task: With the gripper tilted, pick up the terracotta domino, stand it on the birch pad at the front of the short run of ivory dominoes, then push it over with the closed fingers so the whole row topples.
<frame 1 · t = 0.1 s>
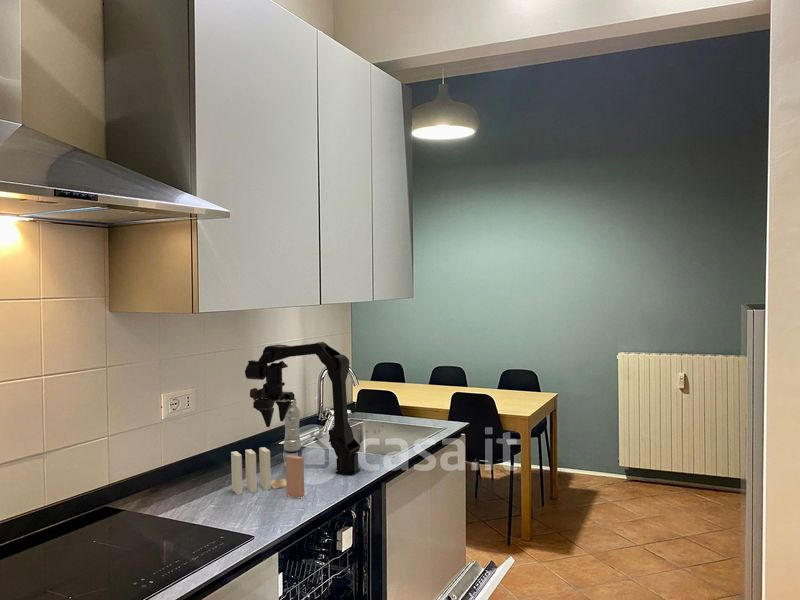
hand: (274, 424, 225), 15 cm above the table, tool pointing down, fingers open, 9 cm apart
ivory domino 4: (237, 491, 197), on the table
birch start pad: (278, 484, 204), on the table
plastic bottle: (292, 451, 244), on the table
ivory domino 2: (265, 486, 202), on the table
terracotta domino: (295, 496, 192), on the table
ivory domino 3: (251, 489, 199), on the table
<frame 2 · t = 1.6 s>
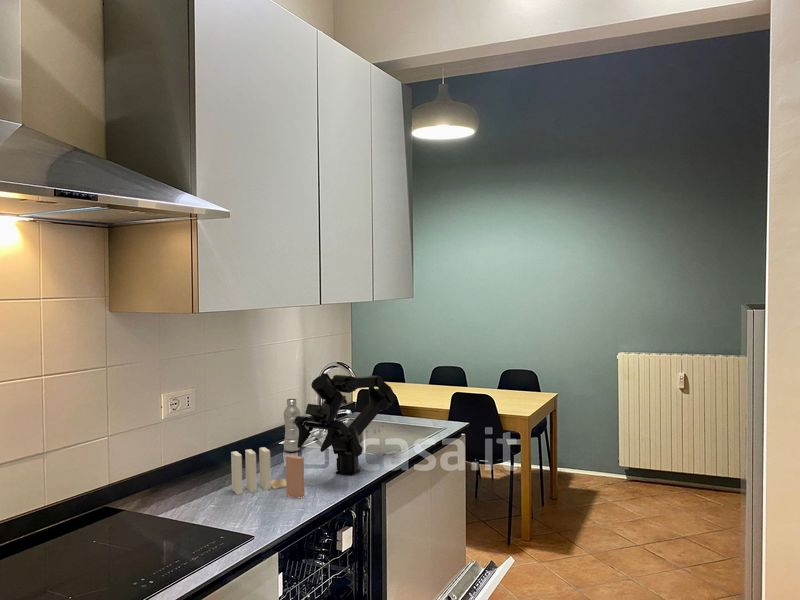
hand: (309, 449, 199), 12 cm above the table, tool tilted 45°, fingers open, 9 cm apart
nothing on the table moved.
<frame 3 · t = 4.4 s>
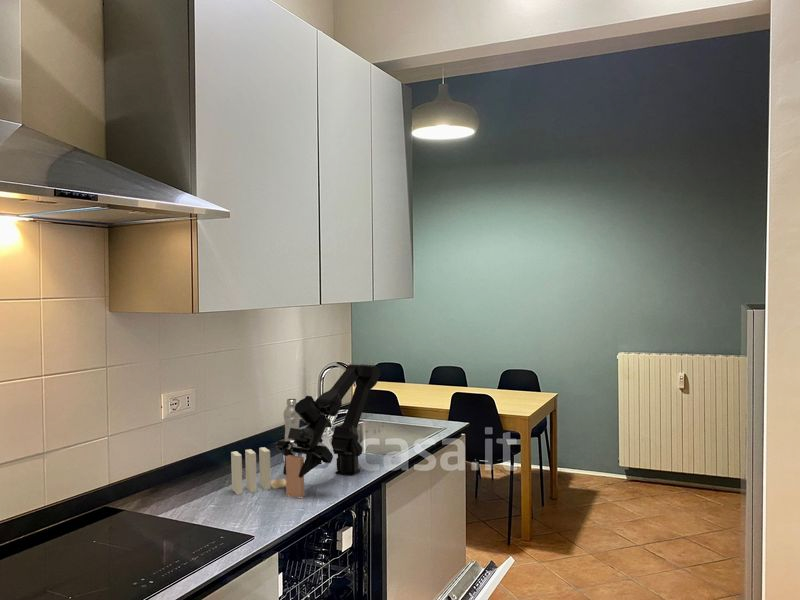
hand: (291, 475, 191), 7 cm above the table, tool tilted 45°, fingers closed on terracotta domino, 5 cm apart
terracotta domino: (295, 496, 192), on the table, touching gripper
everything else where it was.
when the fingers open (8 cm above the table, at t = 8.1 s): terracotta domino drops 1 cm, resting on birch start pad.
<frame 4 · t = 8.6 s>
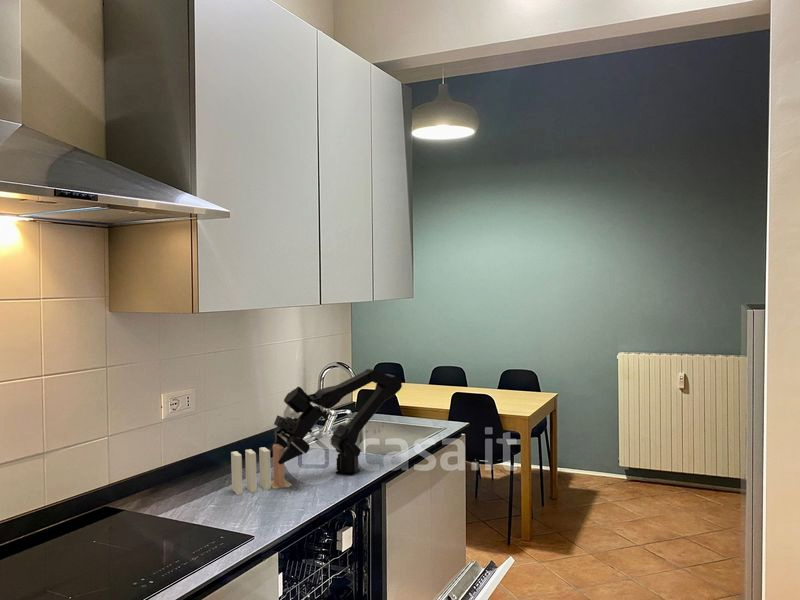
hand: (274, 460, 203), 8 cm above the table, tool tilted 45°, fingers open, 9 cm apart
terracotta domino: (279, 483, 204), resting on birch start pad
everything else where it was.
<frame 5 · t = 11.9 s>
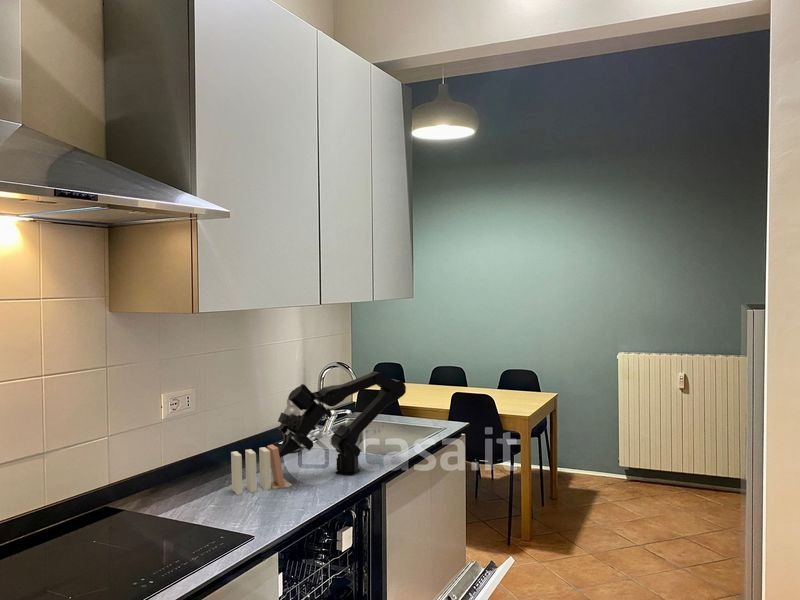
hand: (277, 457, 204), 9 cm above the table, tool tilted 45°, fingers closed
terracotta domino: (278, 482, 204), point 1 cm above the table, tilted 9°, touching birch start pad
everything else where it was.
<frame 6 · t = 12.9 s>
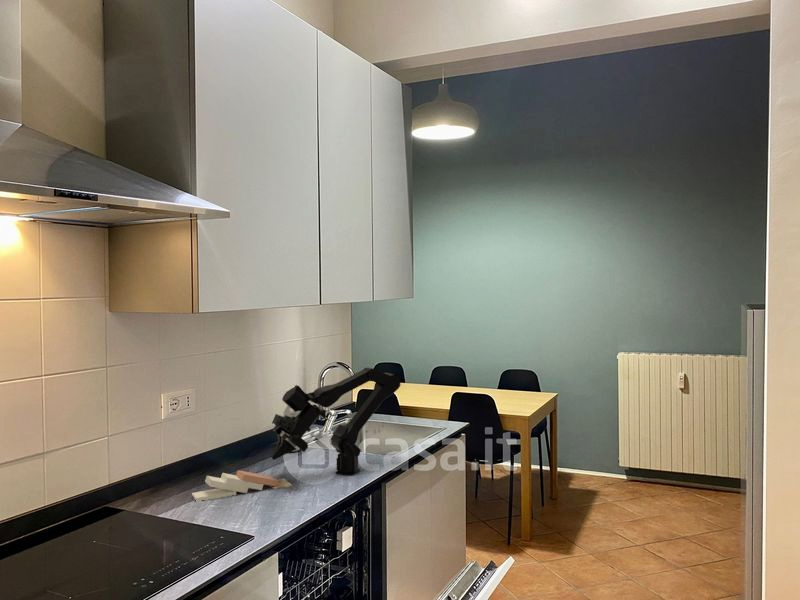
hand: (272, 458, 203), 9 cm above the table, tool tilted 45°, fingers closed
ivory domino 4: (233, 491, 197), on the table, tilted 90°
ivory domino 2: (259, 484, 200), point 1 cm above the table, tilted 69°, touching ivory domino 3, terracotta domino
terracotta domino: (274, 481, 203), point 1 cm above the table, tilted 70°, touching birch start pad, ivory domino 2
ivory domino 3: (244, 487, 198), point 1 cm above the table, tilted 69°, touching ivory domino 2
everything else where it was.
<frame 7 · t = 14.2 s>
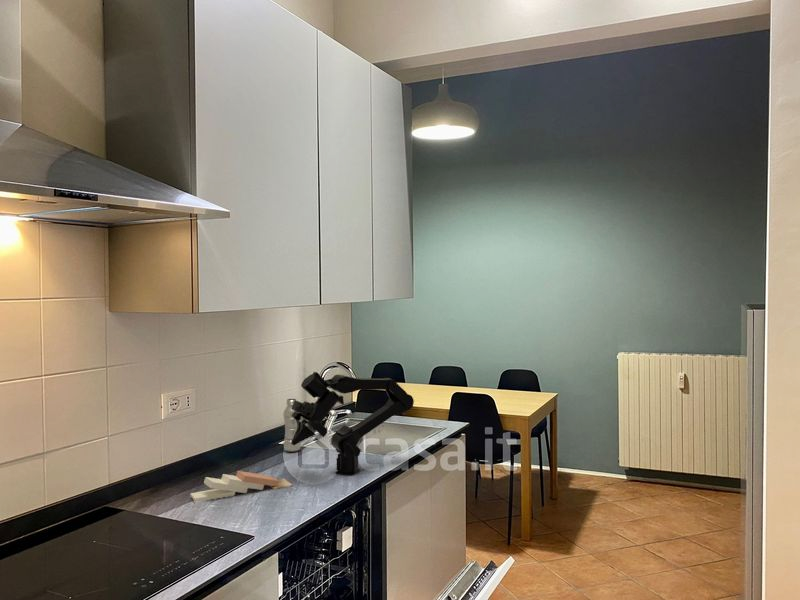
hand: (292, 444, 206), 12 cm above the table, tool tilted 45°, fingers closed
ivory domino 4: (232, 491, 196), on the table, tilted 90°, touching ivory domino 3
ivory domino 3: (243, 487, 198), point 1 cm above the table, tilted 70°, touching ivory domino 2, ivory domino 4
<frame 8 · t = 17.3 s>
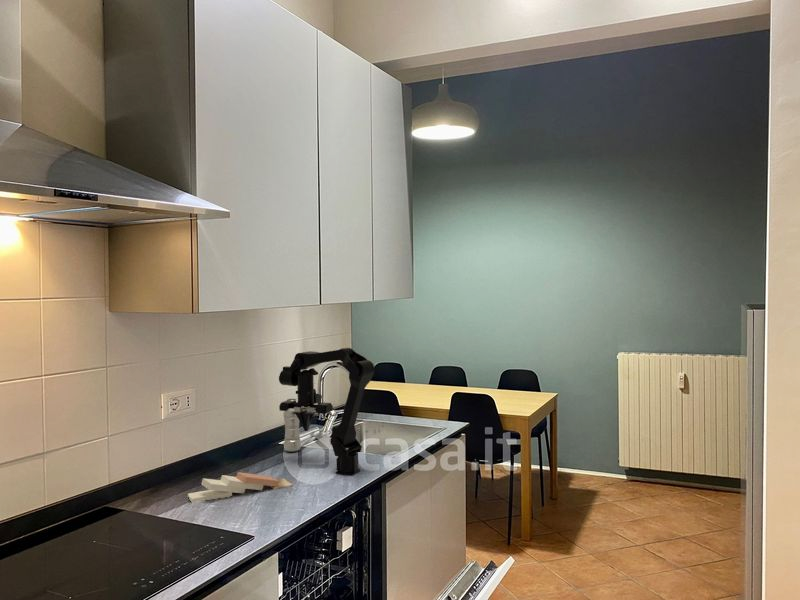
hand: (306, 430, 226), 12 cm above the table, tool pointing down, fingers closed
ivory domino 4: (229, 492, 195), on the table, tilted 90°
ivory domino 2: (258, 484, 200), point 1 cm above the table, tilted 71°, touching ivory domino 3, terracotta domino
ivory domino 3: (240, 487, 197), point 1 cm above the table, tilted 71°, touching ivory domino 2
at the end: ivory domino 4 tilted 90°; terracotta domino tilted 72°; terracotta domino 1.9 cm from the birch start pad (horizontally) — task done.
